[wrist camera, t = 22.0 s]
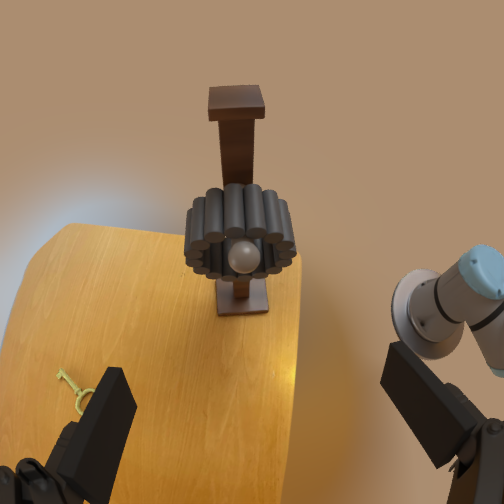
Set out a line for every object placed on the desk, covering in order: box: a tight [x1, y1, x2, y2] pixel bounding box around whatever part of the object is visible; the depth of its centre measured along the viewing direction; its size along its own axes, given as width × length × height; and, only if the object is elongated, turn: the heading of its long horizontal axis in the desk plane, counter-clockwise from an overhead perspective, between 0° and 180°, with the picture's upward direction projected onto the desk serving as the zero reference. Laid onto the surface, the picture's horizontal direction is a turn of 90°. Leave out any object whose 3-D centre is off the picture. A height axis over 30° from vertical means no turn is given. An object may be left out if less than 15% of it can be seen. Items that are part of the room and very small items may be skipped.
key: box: [56, 368, 95, 415], centre depth 42 cm, size 7×12×2 cm, turn 72°
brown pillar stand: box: [208, 85, 269, 316], centre depth 36 cm, size 14×10×42 cm
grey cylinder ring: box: [184, 183, 297, 282], centre depth 28 cm, size 5×11×11 cm, turn 94°
